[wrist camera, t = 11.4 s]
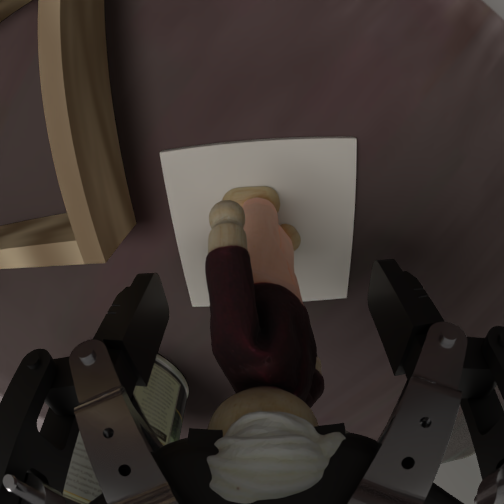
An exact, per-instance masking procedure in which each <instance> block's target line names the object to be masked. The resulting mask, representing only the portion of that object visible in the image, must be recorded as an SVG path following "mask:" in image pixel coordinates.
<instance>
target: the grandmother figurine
mask: <svg viewBox="0 0 504 504" xmlns="http://www.w3.org/2000/svg"><path fill="white" fill-rule="evenodd" d="M279 209H280V199H279V196H278V194H277V192H276V191H275V190H274V189H272V188H270V187H267V186H257V187H240V188H234V189H231V190H229V191H228V192H227V193H226V194H225V195H224V197H223V199H222V201H220V202H218V203H216V204H215V205H214V206H213V207H212V209H211V211H210V213H209V223H210V227H211V229H212V230H211V231H210V233H209V237H208V255H207V257H206V261H205V274H206V281H207V288H208V293H209V301H210V312H211V319H210V330H211V340H212V343H211V345H212V351H213V354H214V356H215V358H216V360H217V362H218V364H219V366H220V367H221V369H222V370H223V372H224V374H225V375H226V377H227V379H228V380H229V382H230V384H231V385H232V387H233V389H234V391H235V393H236V394H234V395H232V396H231V397H229V398H228V399H227V400H225V401H224V402H223V403H222V404H221V405H220V406H219V407H218V408H217V409H216V411H215V412H214V414H213V416H212V418H211V420H210V423H209V426H208V429H210V430H222V431H223V437H222V438H220V439H218V440H217V441H216V442H215V444H214V445H215V446H216V447H217V448H218V449H219V453H218V454H217V455H212V456H208V457H207V462H208V465H209V467H210V471H211V474H212V480H211V482H210V486H209V487H210V488H211V489H212V490H213V491H215V492H216V493H217V494H219V495H220V496H221V497H222V498H224V499H226V500H228V501H232V502H237V503H242V504H248V503H253V502H255V501H257V500H266V499H278V498H283V497H287V496H290V495H293V494H296V493H300V492H302V491H304V490H307V489H309V488H311V487H312V486H313V485H315V484H316V483H317V482H319V480H320V479H321V478H322V476H323V472H324V469H325V468H326V467H327V466H328V464H329V459H330V457H331V456H333V455H334V454H335V452H336V450H337V449H338V447H339V445H340V444H341V442H342V441H343V440H344V439H346V438H345V436H343V435H342V434H341V433H340V432H332V433H329V434H326V435H321V434H319V433H317V431H316V430H315V428H314V427H315V426H318V423H317V420H316V418H315V416H314V414H313V412H312V410H311V409H310V407H312V406H313V404H314V403H315V402H316V401H317V399H318V398H319V397H320V396H321V395H322V393H323V391H324V379H323V376H322V373H321V361H320V359H319V358H318V357H317V349H316V343H315V339H314V335H313V332H312V328H311V325H310V320H309V315H308V312H307V309H306V307H305V306H304V305H303V302H302V297H301V293H300V289H299V285H298V281H297V277H296V275H295V273H294V251H295V250H296V249H297V248H298V247H299V245H300V243H301V238H300V235H299V233H298V231H297V230H296V229H295V227H293V226H292V225H289V224H281V225H279V224H278V215H277V213H278V211H279ZM345 432H346V433H350V432H348V431H346V430H345Z"/></svg>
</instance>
